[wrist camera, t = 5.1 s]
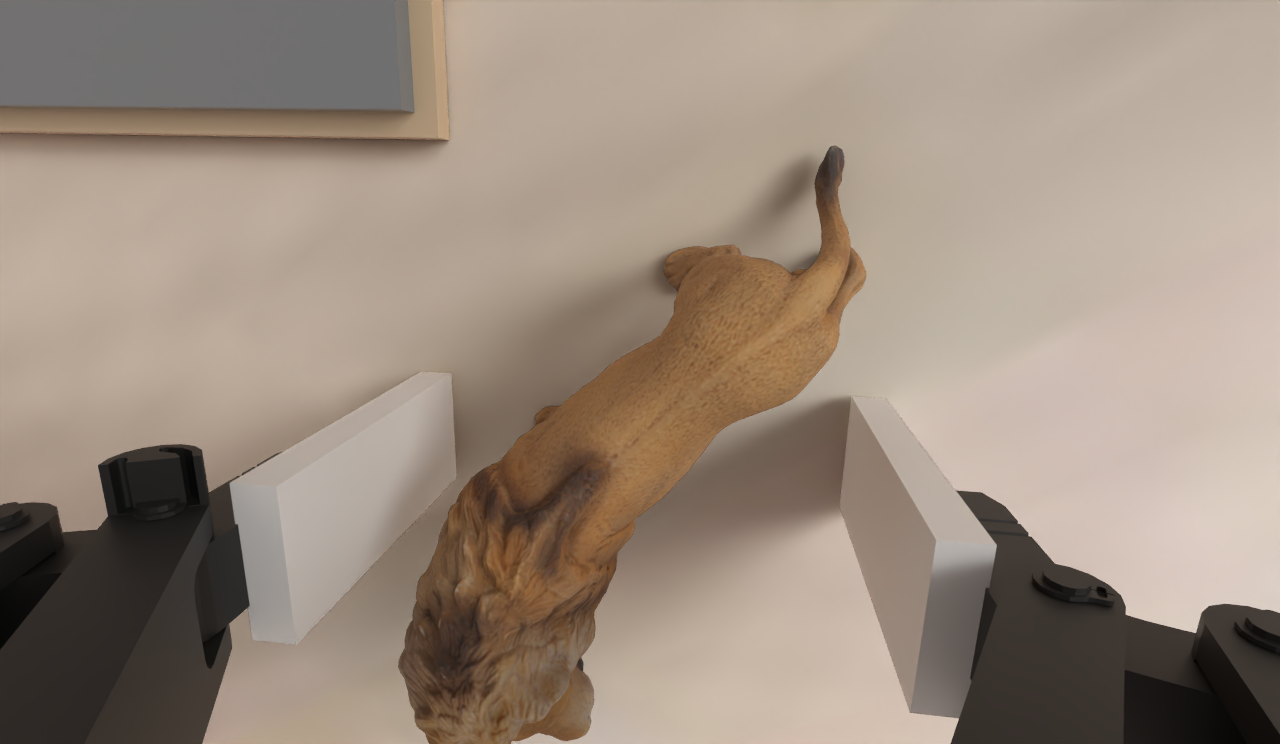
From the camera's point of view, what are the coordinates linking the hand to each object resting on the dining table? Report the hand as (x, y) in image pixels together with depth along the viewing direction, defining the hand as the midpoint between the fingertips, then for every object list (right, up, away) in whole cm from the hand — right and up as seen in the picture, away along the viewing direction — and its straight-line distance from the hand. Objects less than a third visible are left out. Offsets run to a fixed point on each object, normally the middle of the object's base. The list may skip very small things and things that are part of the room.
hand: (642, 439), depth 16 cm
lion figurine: (+1, +2, 0) cm, 2 cm away
